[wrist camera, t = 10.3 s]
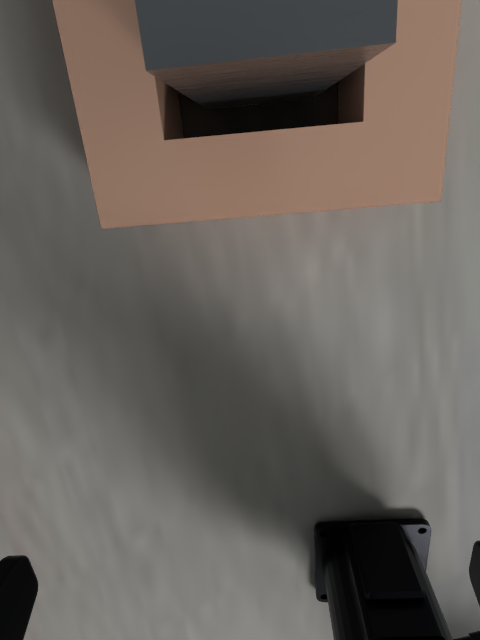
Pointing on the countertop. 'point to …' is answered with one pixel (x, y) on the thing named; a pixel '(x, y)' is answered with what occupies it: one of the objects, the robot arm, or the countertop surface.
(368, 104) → the orange square socket block
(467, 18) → the countertop surface
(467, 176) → the countertop surface
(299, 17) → the tall grey square pillar
